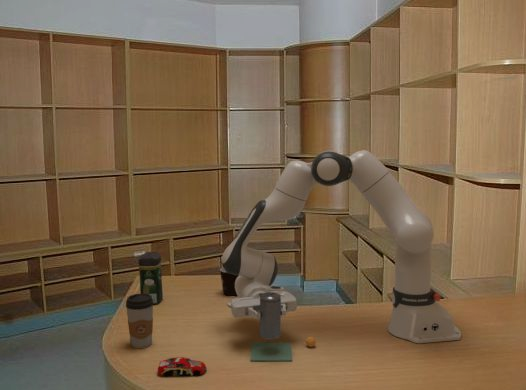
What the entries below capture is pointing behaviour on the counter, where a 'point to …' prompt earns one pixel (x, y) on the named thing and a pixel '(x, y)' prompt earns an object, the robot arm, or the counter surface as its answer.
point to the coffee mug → (228, 283)
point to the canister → (270, 315)
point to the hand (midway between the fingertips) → (271, 314)
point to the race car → (181, 367)
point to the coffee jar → (151, 275)
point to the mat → (271, 352)
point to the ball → (310, 341)
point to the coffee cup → (140, 319)
